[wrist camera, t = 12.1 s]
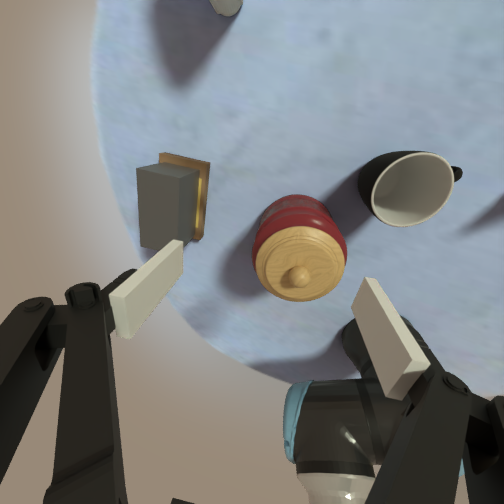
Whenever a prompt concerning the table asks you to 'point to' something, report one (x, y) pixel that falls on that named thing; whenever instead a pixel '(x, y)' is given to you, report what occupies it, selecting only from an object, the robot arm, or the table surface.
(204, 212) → the block
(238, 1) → the photo printer
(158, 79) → the table surface
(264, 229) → the canister
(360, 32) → the table surface
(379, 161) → the mug
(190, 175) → the grey bevelled block
